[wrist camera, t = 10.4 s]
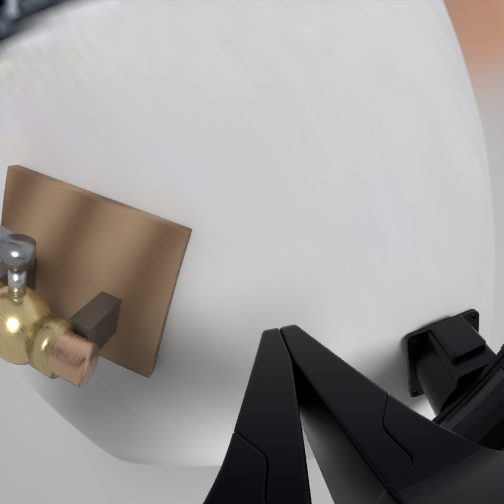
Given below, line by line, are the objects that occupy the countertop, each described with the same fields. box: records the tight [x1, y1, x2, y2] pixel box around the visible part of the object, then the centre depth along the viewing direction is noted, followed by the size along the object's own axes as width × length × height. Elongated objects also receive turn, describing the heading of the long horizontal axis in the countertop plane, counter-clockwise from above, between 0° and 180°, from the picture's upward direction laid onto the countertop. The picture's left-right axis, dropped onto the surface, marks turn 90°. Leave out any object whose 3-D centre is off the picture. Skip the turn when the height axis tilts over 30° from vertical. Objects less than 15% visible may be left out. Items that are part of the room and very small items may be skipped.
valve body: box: [0, 257, 122, 387], centre depth 17 cm, size 11×6×8 cm, turn 70°
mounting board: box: [1, 165, 192, 378], centre depth 21 cm, size 16×12×1 cm
